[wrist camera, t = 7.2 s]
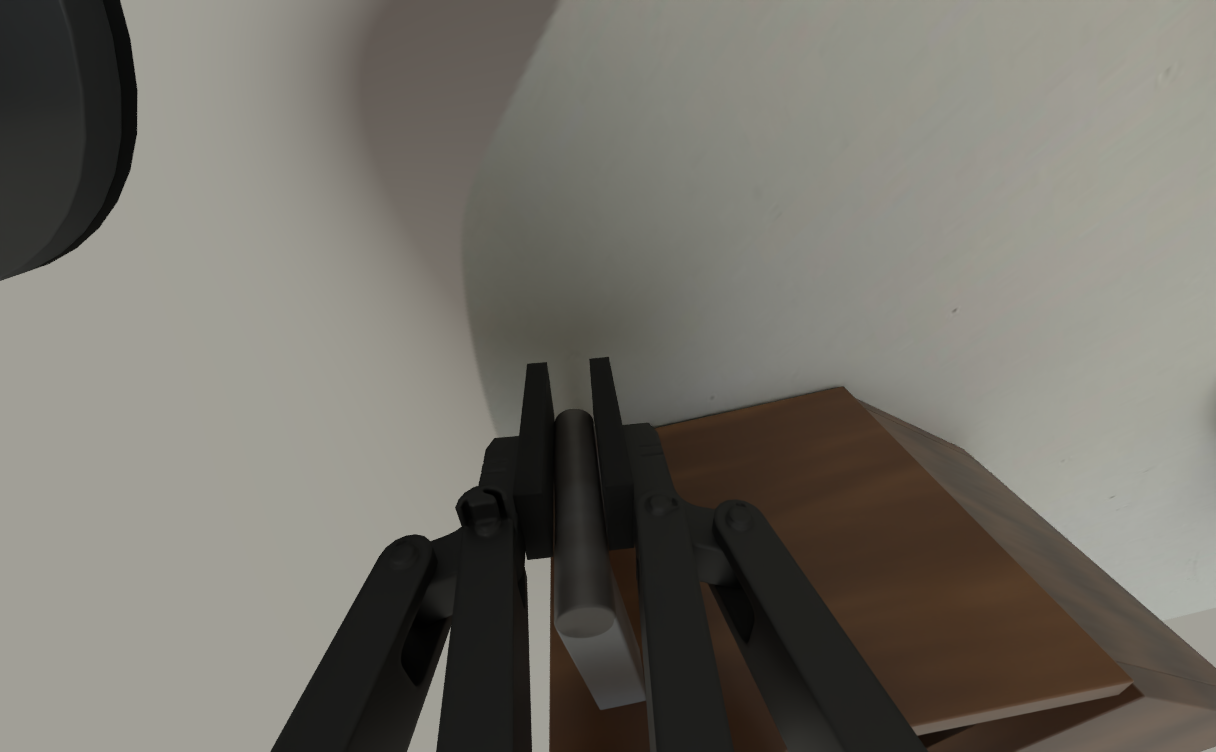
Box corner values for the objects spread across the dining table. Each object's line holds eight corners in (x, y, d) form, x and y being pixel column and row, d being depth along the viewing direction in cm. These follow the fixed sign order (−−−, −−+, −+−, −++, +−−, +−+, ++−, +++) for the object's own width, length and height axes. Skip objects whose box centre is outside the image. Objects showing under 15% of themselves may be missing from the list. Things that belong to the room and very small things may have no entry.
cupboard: (689, 562, 33) (773, 855, 20) (850, 395, 25) (1145, 696, 12) (795, 588, 36) (922, 849, 24) (964, 449, 29) (1280, 723, 16)
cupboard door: (517, 359, 21) (466, 722, 9) (857, 282, 21) (1289, 550, 9) (555, 463, 25) (557, 809, 13) (841, 399, 25) (1119, 695, 13)
